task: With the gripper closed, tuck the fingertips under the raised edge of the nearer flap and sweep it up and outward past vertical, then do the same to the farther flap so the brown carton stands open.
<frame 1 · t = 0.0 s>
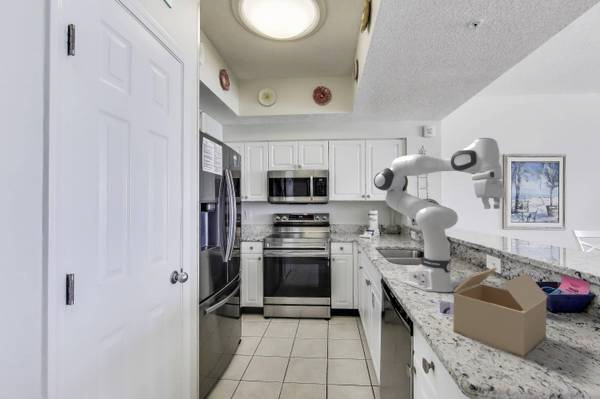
hand: (492, 208, 114), 39 cm above the worktop, tool pointing down, fingers open, 8 cm apart
flap 2: (525, 290, 81), point 16 cm above the worktop, hinge at 50.0°
carton: (498, 334, 86), on the worktop
beverage can: (527, 312, 104), on the worktop
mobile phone: (449, 310, 106), on the worktop
flap 1: (476, 279, 91), point 16 cm above the worktop, hinge at 50.0°
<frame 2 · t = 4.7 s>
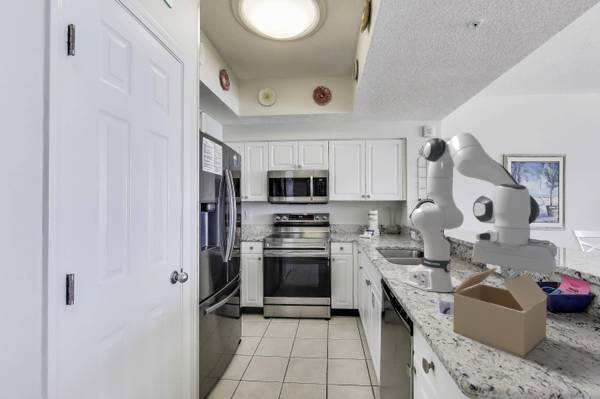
hand: (510, 282, 84), 17 cm above the worktop, tool pointing down, fingers closed
flap 2: (526, 290, 81), point 16 cm above the worktop, hinge at 51.3°, touching gripper
everything else where it was.
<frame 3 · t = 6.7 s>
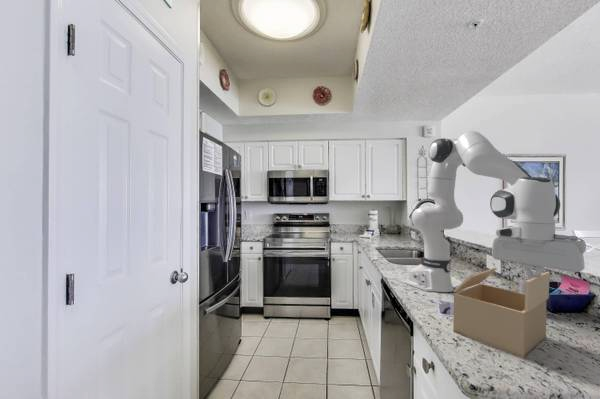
hand: (533, 280, 79), 19 cm above the worktop, tool pointing down, fingers closed
flap 2: (537, 290, 78), point 16 cm above the worktop, hinge at 91.4°, touching gripper
everything else where it was.
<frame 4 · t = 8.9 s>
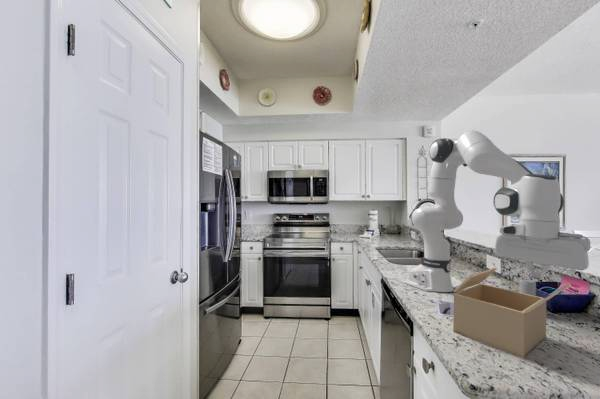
hand: (536, 278, 79), 20 cm above the worktop, tool pointing down, fingers closed
flap 2: (549, 297, 76), point 15 cm above the worktop, hinge at 131.3°
everything else where it was.
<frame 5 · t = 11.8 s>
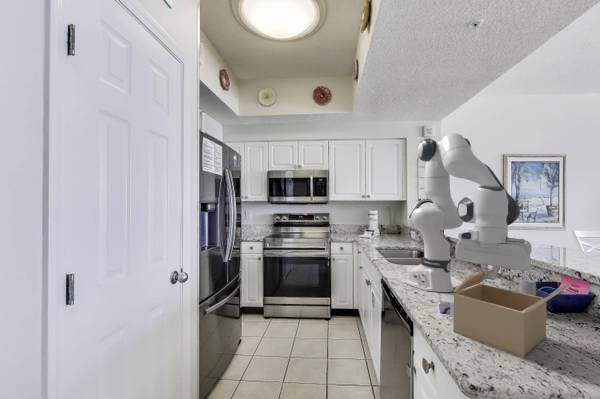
hand: (490, 279, 88), 17 cm above the worktop, tool pointing down, fingers closed
flap 2: (549, 297, 76), point 15 cm above the worktop, hinge at 131.6°
flap 1: (475, 279, 92), point 16 cm above the worktop, hinge at 50.7°, touching gripper
everything else where it was.
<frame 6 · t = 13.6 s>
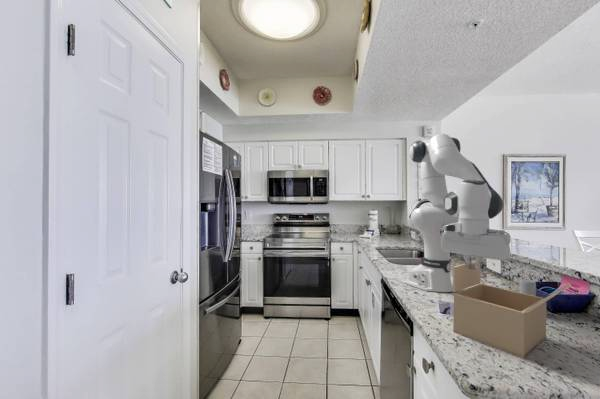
hand: (473, 269, 92), 19 cm above the worktop, tool pointing down, fingers closed
flap 1: (467, 275, 94), point 16 cm above the worktop, hinge at 90.5°, touching gripper
everything else where it was.
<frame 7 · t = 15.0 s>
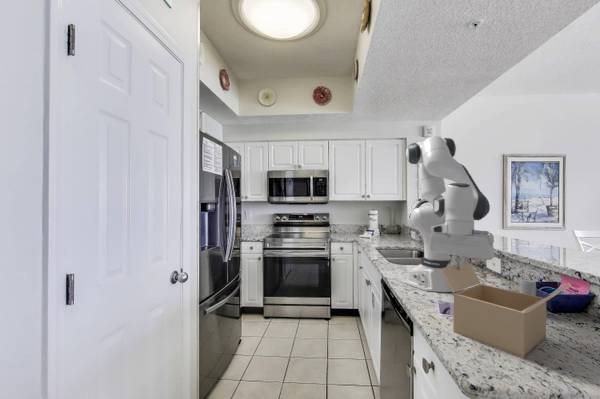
hand: (459, 268, 96), 18 cm above the worktop, tool pointing down, fingers closed, pressing on flap 1
flap 1: (461, 276, 95), point 16 cm above the worktop, hinge at 121.2°, touching gripper
everything else where it was.
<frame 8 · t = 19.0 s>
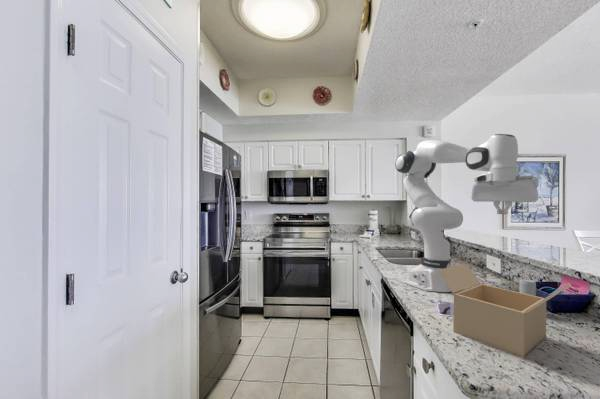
hand: (502, 214, 103), 37 cm above the worktop, tool pointing down, fingers closed
flap 1: (459, 276, 96), point 15 cm above the worktop, hinge at 129.9°
everything else where it was.
at the end: flap 2 at +132° (first picture: +50°); flap 1 at +130° (first picture: +50°) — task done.
